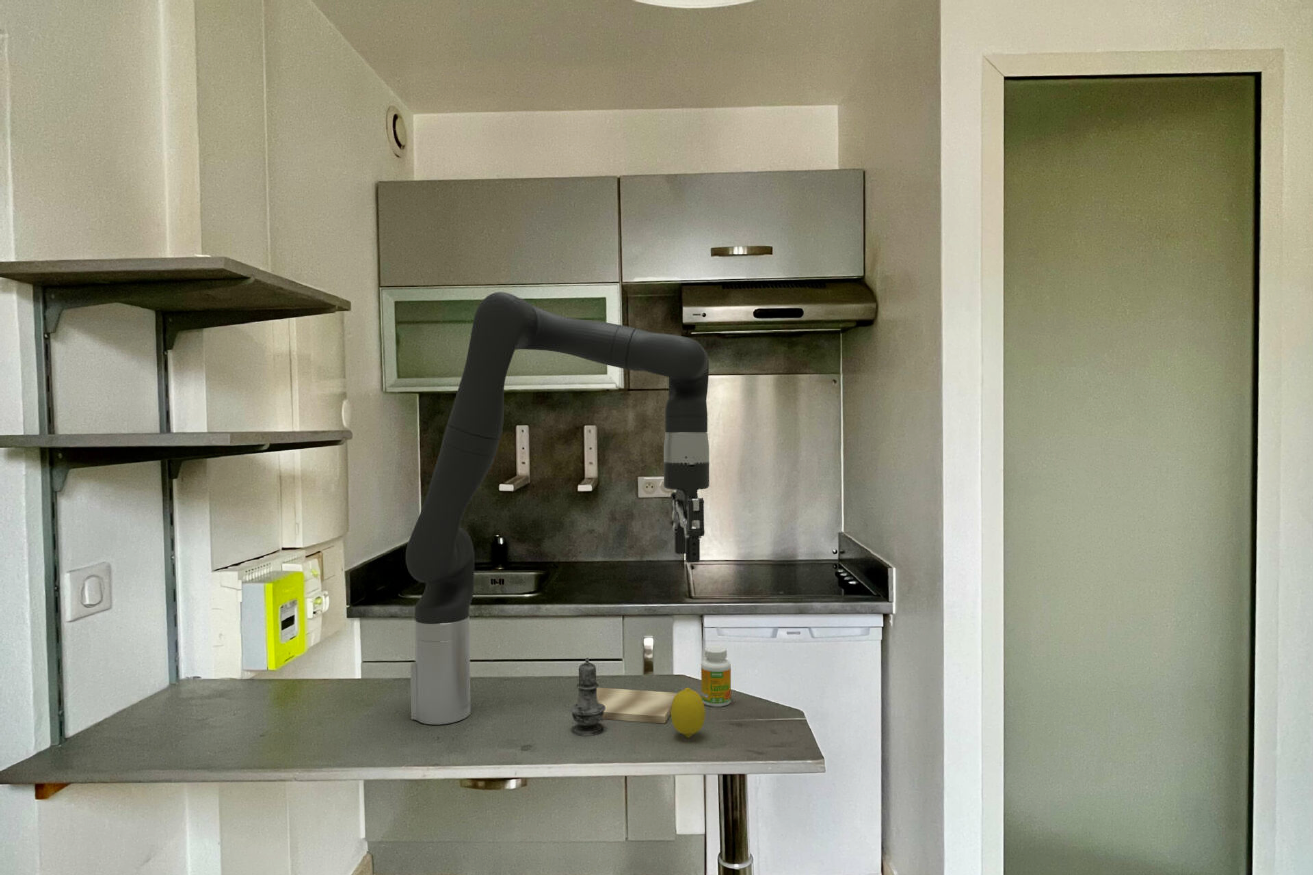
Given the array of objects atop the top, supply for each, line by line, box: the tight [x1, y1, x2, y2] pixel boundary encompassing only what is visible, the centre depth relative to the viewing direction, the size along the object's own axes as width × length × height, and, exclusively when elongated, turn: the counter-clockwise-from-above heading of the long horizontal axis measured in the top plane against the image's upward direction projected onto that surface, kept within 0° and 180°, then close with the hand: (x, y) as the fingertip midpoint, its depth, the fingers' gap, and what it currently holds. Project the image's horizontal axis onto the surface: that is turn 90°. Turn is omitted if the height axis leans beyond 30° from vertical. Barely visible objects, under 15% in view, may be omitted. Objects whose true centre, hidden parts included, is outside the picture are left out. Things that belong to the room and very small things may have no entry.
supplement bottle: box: [700, 645, 732, 708], centre depth 139 cm, size 5×5×10 cm
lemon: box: [670, 687, 706, 738], centre depth 123 cm, size 6×6×8 cm
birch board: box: [597, 687, 679, 724], centre depth 137 cm, size 16×12×1 cm
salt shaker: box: [569, 657, 605, 737], centre depth 127 cm, size 6×6×12 cm
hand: (686, 557), depth 126 cm, fingers open, 8 cm apart
